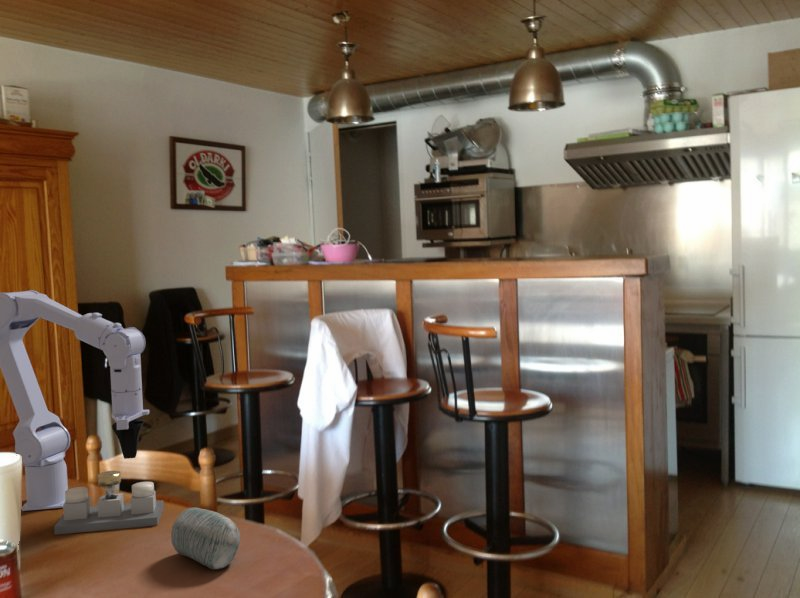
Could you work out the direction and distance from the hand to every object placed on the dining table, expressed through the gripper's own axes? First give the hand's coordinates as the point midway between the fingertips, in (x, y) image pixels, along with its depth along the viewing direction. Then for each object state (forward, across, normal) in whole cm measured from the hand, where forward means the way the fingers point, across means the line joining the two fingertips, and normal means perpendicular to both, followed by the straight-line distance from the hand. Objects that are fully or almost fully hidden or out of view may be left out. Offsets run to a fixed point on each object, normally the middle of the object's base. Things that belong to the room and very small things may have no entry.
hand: (130, 457), depth 150 cm
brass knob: (+6, -6, +3) cm, 9 cm away
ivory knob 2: (+9, -6, -3) cm, 11 cm away
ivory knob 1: (+9, -6, +9) cm, 14 cm away
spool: (+11, -30, -16) cm, 36 cm away
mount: (+10, -6, +3) cm, 12 cm away
